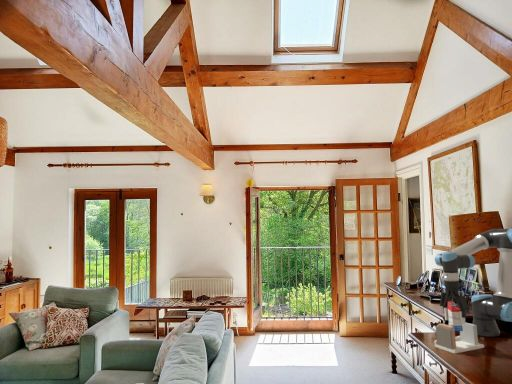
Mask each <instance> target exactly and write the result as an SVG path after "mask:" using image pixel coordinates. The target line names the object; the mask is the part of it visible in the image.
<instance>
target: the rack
mask: <svg viewBox="0 0 512 384" xmlns="http://www.w3.org/2000/svg"><path fill="white" fill-rule="evenodd" d="M435 333H436V335H435V336H436V340H434V347H435V348H438V349H440V350H444V351H446V352H450V353H452V354H459V353H465V352H468V351H470V352H471V351H475V350H479V349H484V348H485V344H482V343H480V342H478V344H476V345H474V344H471V343H468V342H464V341H461V339H460V335H458V336H456V331H455V329H454V327H453V326H449V324H445V323H437V325H435Z"/></svg>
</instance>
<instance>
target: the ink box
mask: <svg viewBox="0 0 512 384" xmlns="http://www.w3.org/2000/svg"><path fill="white" fill-rule="evenodd" d="M447 311H448V320H447V321H448V325H449V326H453V327H454V329H455V332H460V331H463V328H462V324H461V322H460V311H461V310H460V308H459V306H458V307H457V306H456V305H452V302H450V301H449V302H448V301H447Z"/></svg>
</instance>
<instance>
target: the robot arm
mask: <svg viewBox="0 0 512 384" xmlns="http://www.w3.org/2000/svg"><path fill="white" fill-rule="evenodd" d="M490 248H491V249H493V248H496V249H497V251H498V252H499V260H498V271H497V281H496V282H497V284H496V292H495V293H493V295H492V294H489V293H488V294H473V295H472V296H471V310H472V319H473V320H472V323H471V324H474V325H476V326H477V336H482V337H499V336H500V335H501V331H500V329H499V327H498V324H497V321H496V320H501V321H504V322H510V323H511V322H512V228H511V227H510V228H492V229H489V230H486V231H484V232H481V233H479V234H477V235H475V236H474V238H473V239H471V240H469V241H467V242H465V243H463V244H460V245H459V246H457V247H455V248H453V249H451V250H449V251H444V252H442V253H437V254H436V255H435V256H434V262H435V264H436V265H437V266H439V267H442V271H443V273H442V274H443V285H444V287H445V288H441V289H440V300H439V306H440V307H442V309H443V310H442V311H443V314H444V320H445V321H448V311H447V301H448V302H450V301H451V299H452V298H453V299H454V300H455V302H456V305H457V306H458V308H460V310H461V311H460V322H461V324H465V322H466V318H467V314H466V312H467V311H469V310H470V309H469V305H468V303H467V299H466V295H465V294H466V293H465V291H460V288H461V287H460V286H461V285H460V275H459V269H460V270H462V269H471V268H473V267H474V266H475V265H476V259H475V257H474V256H473V255H474V254H475V253H477V252H480V251H482V250H488V249H490Z"/></svg>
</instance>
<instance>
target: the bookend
mask: <svg viewBox="0 0 512 384" xmlns="http://www.w3.org/2000/svg"><path fill="white" fill-rule="evenodd" d="M462 328H463V331H459V336H460V339H461V341H464V342H468V343H471V344H474V345H476V344H478V343H479V339H478V336H479V335H477V326H476V325H474V324H472V323H469V322H466V321H465V324H462Z"/></svg>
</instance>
